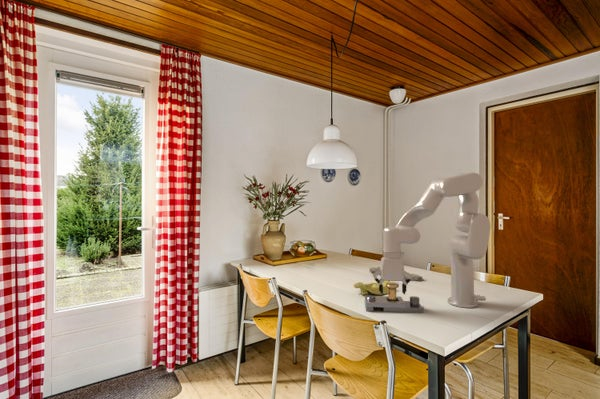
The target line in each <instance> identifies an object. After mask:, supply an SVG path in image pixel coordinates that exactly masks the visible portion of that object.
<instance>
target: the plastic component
mask: <svg viewBox="0 0 600 399" xmlns="http://www.w3.org/2000/svg"><path fill="white" fill-rule="evenodd" d="M388 282H390V281H384V282H383V283H382V285H383V294H381V292H380V291H379V284H378V283H377V282H372V283H363V282H361V281H360V282H357V283H354V284H352V285H353V286H352V287H354V288H355V289H359V290H360V293H361V295H366V294H367V295H368V294H369V292H370V294H373V295H376V296H380V295H381V296H382V295H388V287H386V283H388Z"/></svg>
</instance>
